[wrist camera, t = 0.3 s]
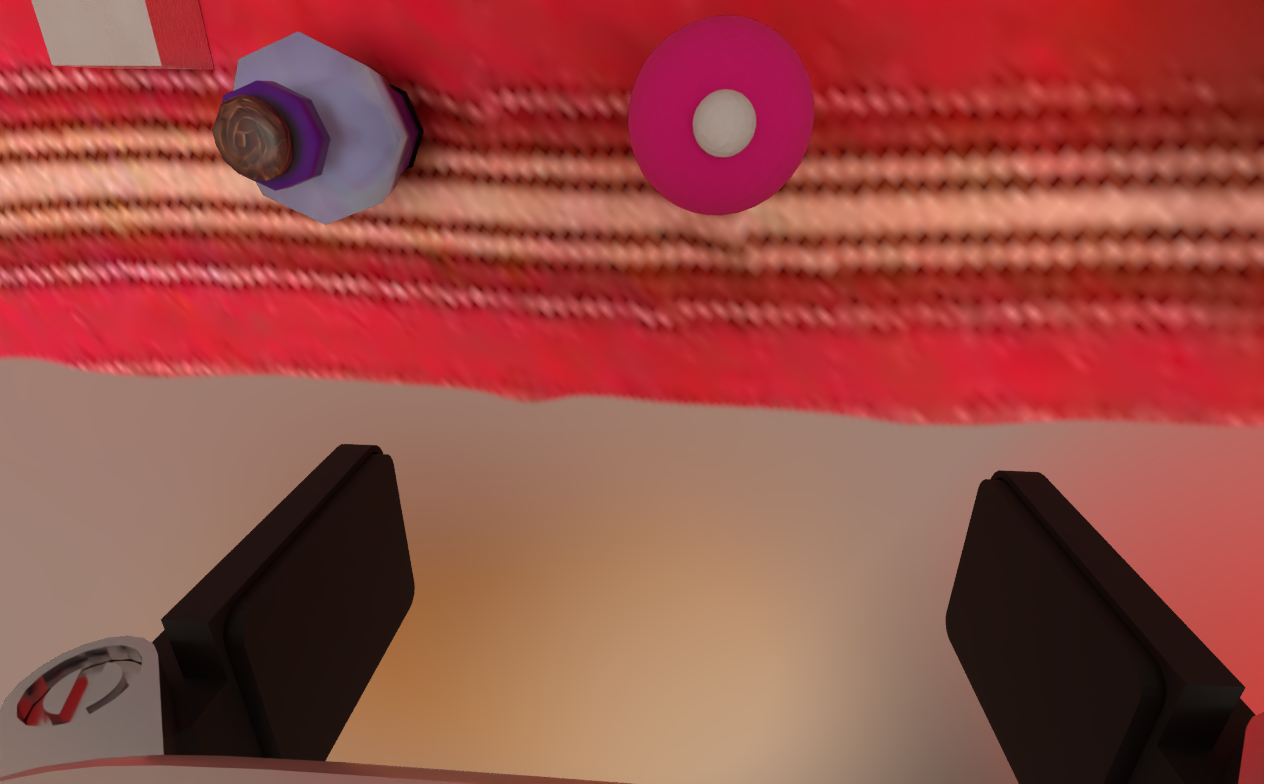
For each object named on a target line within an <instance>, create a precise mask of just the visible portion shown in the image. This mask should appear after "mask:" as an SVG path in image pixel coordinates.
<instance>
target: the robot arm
mask: <svg viewBox="0 0 1264 784" xmlns="http://www.w3.org/2000/svg"><path fill="white" fill-rule="evenodd" d="M414 589H415V587H414V578H413V573H412V568H411V561H410V555H409V550H408V544H407V538H406V532H405V527H404V521H403V515H402V510H401V504H400V498H399V492H398V486H397V481H396V475H395V469H394V464H393V460H392V459H391V456H389V455H385V454H383V452H382V450H381V449H380V447H378V446H377V445H353V444H341V445H340V446H339V447H337V448H336V449H335V450H334V451H333V452H332V453H331V454H330V455H329V456H328V457H327V458H326V459H325V460H324V461H323V462H322V463H320V464H319V466H317V467H316V468H315V470H313V471H312V472H311V473H310V474H309V475H308V476H307V477H306V478H305V479H304V480H303V481H302V482H301V483H300V484H299V485H298V486H297V487H296V488H295V489H294V490H293V491H292V492H291V493H290V494H289V495H288V496H287V497H286V498H285V499H284V500H283V501H282V502H281V503H280V504H279V505H278V506H277V507H276V508H275V509H273V511H271V512H270V513H269V514H268V516H266V517H265V518H264V519H263V520H262V521H261V522H260V523H259V524H258V525H257V526H256V527H255V528H254V529H253V530H252V531H251V532H250V533H249V534H248V535H247V536H246V537H245V538H244V539H243V540H242V541H241V542H240V543H239V544H238V545H237V546H236V547H235V548H234V549H233V550H232V551H231V552H230V553H228V554H227V555H226V557H224V558H223V559H222V560H221V561H220V562H219V563H218V564H217V565H216V566H215V567H214V568H213V569H212V570H211V571H210V572H209V573H208V574H207V575H206V576H205V577H204V578H203V579H202V580H201V581H200V582H199V583H198V584H197V585H196V586H195V587H194V588H193V589H192V590H191V591H190V592H189V593H188V594H187V595H186V596H185V597H184V598H183V599H182V600H180V601H179V602H178V603H177V604H176V605H175V606H174V607H173V608H172V609H171V610H170V611H169V612H168V613H167V614H166V615H165V616H164V617H163V618H162V619H161V621H162V624H163V626H164V629H165V630H164V631H163V632H162V633H161V634H160V635H159V636H158V637H157V638H156V639H155V640H154V641H153V642H152V643H151V642H149V641H147V640H146V639H144V638H140V637H133V636H120V637H111V638H105V639H101V640H98V641H94V642H91V643H87V644H84V645H81V646H79V647H77V648H74V649H72V650H70V651H68V652H65V653H63V654H61V655H59V656H57V657H56V658H54V659H52V660H50V661H49V662H47V663H45V664H44V665H42V666H41V667H39V668H37V669H36V670H35V671H34V672H32V673H31V674H30V675H29V676H27V677H26V678H25V679H24V680H22V681H21V682H20V683H19V684H18V685H17V686H16V687H15V688H14V690H13V691H12V692H11V693H10V694H9V695H8V696H7V697H6V699H5V700H4V702H3V705H2V707H1V709H0V784H631V783H618V782H603V781H592V780H578V779H566V778H553V777H552V778H551V777H539V776H526V775H511V774H498V773H484V772H471V771H456V770H443V769H429V768H415V767H401V766H387V765H373V764H359V763H345V762H327V761H325V760H326V759H327V757H328V755H329V753H330V751H331V749H332V748H333V746H334V744H335V742H336V740H337V739H338V737H339V735H340V733H341V731H342V730H343V728H344V726H345V724H346V722H347V721H348V719H349V717H350V715H351V713H352V712H353V710H354V708H355V706H356V704H357V703H358V701H359V699H360V697H361V695H362V694H363V692H364V690H365V688H366V686H367V684H368V683H369V681H370V679H371V677H372V675H373V674H374V672H375V670H376V668H377V666H378V665H379V663H380V661H381V659H382V657H383V656H384V654H385V652H386V650H387V648H388V646H389V645H390V643H391V641H392V639H393V637H394V636H395V634H396V632H397V630H398V628H399V627H400V625H401V623H402V621H403V619H404V618H405V616H406V614H407V612H408V610H409V609H410V606H411V604H412V601H413V597H414ZM946 629H947V634H948V637H949V640H950V642H951V644H952V646H953V648H954V650H955V652H956V654H957V656H958V659H959V661H960V663H961V665H962V667H963V669H964V671H965V673H966V675H967V677H968V679H969V681H970V683H971V685H972V688H973V690H974V692H975V694H976V696H977V698H978V700H979V702H980V704H981V706H982V708H983V710H984V712H985V714H986V717H987V718H988V720H989V723H990V725H991V727H992V729H993V731H994V733H995V735H996V737H997V739H998V741H999V743H1000V745H1001V748H1002V750H1003V752H1004V754H1005V756H1006V758H1007V760H1008V762H1009V764H1010V766H1011V768H1012V770H1013V772H1014V774H1015V777H1016V778H1017V781H1018V783H1019V784H1264V712H1263V713H1260V714H1258V715H1255V714H1254V713H1253V712H1252V711H1251V709H1250V708H1249V707H1248V706H1247V705H1246V704H1245V703H1244V702H1243V701H1242V700H1241V699H1240V696H1241V695H1242V693H1243V691H1244V689H1245V687H1244V686H1243V685H1242V683H1241V682H1239V680H1238V679H1237V678H1236V677H1235V676H1234V675H1233V674H1232V673H1231V672H1230V671H1229V670H1228V669H1227V668H1226V667H1225V666H1224V665H1223V664H1222V662H1221V661H1220V660H1219V659H1218V658H1217V657H1216V656H1215V655H1214V654H1213V653H1212V652H1211V651H1210V650H1209V649H1208V648H1207V647H1206V646H1205V644H1203V642H1202V641H1201V640H1200V639H1199V638H1198V637H1197V636H1196V635H1195V634H1194V633H1193V632H1192V631H1191V630H1190V629H1189V628H1188V627H1187V625H1186V624H1184V622H1183V621H1182V620H1181V619H1180V618H1179V617H1178V616H1177V615H1176V614H1175V613H1174V612H1173V611H1172V610H1171V609H1170V608H1169V607H1168V605H1166V603H1164V601H1163V600H1162V599H1161V598H1160V597H1159V596H1158V595H1157V594H1156V593H1155V592H1154V591H1153V590H1152V589H1151V588H1150V587H1149V586H1148V584H1147V583H1146V582H1145V581H1144V580H1143V579H1142V578H1141V577H1140V576H1139V575H1138V574H1137V573H1136V572H1135V571H1134V570H1133V569H1132V568H1131V567H1130V565H1128V563H1127V562H1126V561H1125V560H1124V559H1123V558H1122V557H1121V556H1120V555H1119V554H1118V553H1117V552H1116V551H1115V550H1114V549H1113V548H1112V546H1111V545H1110V544H1108V542H1107V541H1106V540H1105V539H1104V538H1103V537H1102V536H1101V535H1100V534H1099V533H1098V532H1097V531H1096V530H1095V529H1094V528H1093V527H1092V525H1091V524H1090V523H1089V522H1088V521H1087V520H1086V519H1085V518H1084V517H1083V516H1082V515H1081V514H1080V513H1079V512H1078V511H1077V510H1076V509H1075V508H1074V506H1073V505H1072V504H1071V503H1070V502H1069V501H1068V500H1067V499H1066V498H1065V497H1064V496H1063V495H1062V494H1061V493H1060V492H1059V491H1058V490H1057V489H1056V488H1055V486H1054V485H1053V484H1052V483H1051V482H1050V481H1049V480H1048V479H1047V478H1046V477H1045V476H1044V475H1042V474H1041V473H1039V472H1023V471H1022V472H1021V471H997V472H995V473H994V475H993V476H992V477H991V480H990V479H989V480H987V479H985V480H983V481H982V482H981V483H980V486H979V488H978V492H977V496H976V500H975V504H974V508H973V511H972V515H971V519H970V523H969V527H968V531H967V535H966V539H965V543H964V546H963V550H962V554H961V558H960V562H959V566H958V570H957V574H956V578H955V582H954V586H953V589H952V593H951V597H950V601H949V605H948V609H947V613H946Z"/></svg>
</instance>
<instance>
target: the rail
mask: <svg viewBox="0 0 1264 784" xmlns="http://www.w3.org/2000/svg"><path fill="white" fill-rule="evenodd" d="M32 3H33V6H34V10H35V13H36V16H37V19H38V22H39V25H40V28H41V31H42V35H43V38H44V41H45V44H46V47H47V50H48V53H49V56H50V60H51V63H52V65H57V66H74V67H92V68H109V69H214V67H213V63H212V59H211V54H210V50H209V45H208V41H207V37H206V32H205V28H204V24H203V19H202V15H201V11H200V6H199V2H198V0H32Z"/></svg>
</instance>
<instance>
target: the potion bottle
mask: <svg viewBox="0 0 1264 784" xmlns="http://www.w3.org/2000/svg"><path fill="white" fill-rule="evenodd" d="M212 132H213V136H214V139H215V143H216V146H217V148H218V150H219V151H220V153H221V155H222V157H223V158H224V160H225V162H226V163H227V164H229V165H230V166H231V167H232V168H233V169H234V170H235V171H236V172H237V173H239V174H241V175H243V176H245V177H247V178H249V179H251V180H253V181H256V183H257V185H258V187H259V189H260V190H261V192H262V194H263V195H264V196H266V197H268V198H270V199H272V200H274V201H276V202H278V203H281V204H283V205H285V206H287V207H289V208H291V209H293V210H295V211H298V212H300V213H302V214H304V215H306V216H308V217H310V218H312V219H315V220H317V221H319V222H321V223H323V224H325V225H326V224H329V223H331V222H334V221H337V220H339V219H342V218H344V217H347V216H349V215H352V214H354V213H357V212H360V211H362V210H365V209H367V208H370V207H372V206H375V205H377V204H380V203H382V202H383V201H384V199H385V198H386V197H387V196H388V195H389V194H390V192H391V191H392V190H393V189H394V188H395V187H396V184H397V181H398V177H399V176H400V175H401V173H402V172H403V171H404V170H406V169H409V168H411V167H413V164H414V161H415V158H416V154H417V151H418V148H419V145H420V141H421V138H422V135H423V129H422V126H421V124H420V122H419V120H418V117H417V115H416V113H415V111H414V108H413V106H412V104H411V102H410V99H409V97H408V95H407V93H406V92H405V91H403V90H401V89H399V88H397V87H395V86H393V85H391V84H389V82H388V80H387V79H386V78H384V77H383V76H381V75H380V74H378V73H377V72H375V71H374V70H372V69H371V68H369V67H368V66H366V65H364V64H362V63H360V62H358V61H356V60H354V59H352V58H350V57H348V56H346V55H344V54H342V53H340V52H338V51H336V50H334V49H332V48H330V47H328V46H326V45H324V44H322V43H320V42H318V41H316V40H314V39H312V38H310V37H308V36H306V35H304V34H302V33H300V32H295V33H293V34H291V35H289V36H287V37H285V38H283V39H281V40H278V41H276V42H274V43H272V44H270V45H268V46H266V47H264V48H261V49H259V50H257V51H255V52H253V53H251V54H249V55H247V56H244V57H242V58H240V59H239V61H238V66H237V72H236V77H235V83H234V89H233V91H232V92H230V93H228V94H226V95H223V101H222V104H221V105H220V108H219V112H218V115H217V118H216V121H215V124H214V126H213V129H212Z"/></svg>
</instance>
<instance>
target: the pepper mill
mask: <svg viewBox="0 0 1264 784" xmlns="http://www.w3.org/2000/svg"><path fill="white" fill-rule="evenodd" d="M813 120H814V100H813V92H812V88H811V84H810V80H809V76H808V74H807V72H806V69H805V67H804V65H803V63H802V61H801V59H800V57H799V55H798V54H797V52H796V51H795V50H794V49H793V48H792V46H791V45H790V44H789V43H788V42H787V41H786V40H785V39H784V38H783V37H782V36H781V35H780V34H779V33H778V32H776V31H775V30H773V29H772V28H770V27H769V26H767V25H765V24H763V23H760V22H758V21H756V20H753V19H750V18H745V17H740V16H736V15H721V16H714V17H707V18H703V19H700V20H697V21H694V22H691V23H689V24H687V25H685V26H684V27H682V28H680V29H678V30H677V31H675V32H673V33H672V34H670V35H669V36H668V37H666V38H665V39H664V40H663V41H662V42H661V44H660V45H659V46H658V47H657V48H656V49H655V50H654V51H653V52H652V53H651V54H650V56H649V57H648V59H647V60H646V61H645V63H644V65H643V67H642V69H641V71H640V73H639V75H638V76H637V79H636V82H635V85H634V88H633V91H632V94H631V99H630V105H629V111H628V128H629V135H630V142H631V146H632V149H633V152H634V156H635V159H636V161H637V163H638V165H639V167H640V169H641V171H642V173H643V174H644V176H645V178H646V179H647V180H648V181H649V182H650V184H651V185H652V186H653V187H654V188H655V189H656V190H657V191H658V192H659V193H660V194H661V195H662V196H663V197H664V198H665V199H667V200H669V201H670V202H672V203H673V204H675V205H677V206H678V207H681V208H683V209H686V210H688V211H691V212H695V213H700V214H705V215H726V214H732V213H738V212H741V211H744V210H747V209H749V208H752V207H755V206H756V205H758V204H760V203H761V202H763V201H765V200H767V199H768V198H770V197H771V196H772V195H774V194H775V193H776V192H777V191H778V190H779V189H781V188H782V186H783V185H784V184H785V183H786V182H787V181H788V180H789V179H790V178H791V177H792V175H793V174H794V172H795V171H796V169H797V168H798V166H799V165H800V163H801V161H802V159H803V156H804V154H805V152H806V150H807V148H808V144H809V141H810V137H811V134H812V129H813Z"/></svg>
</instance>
